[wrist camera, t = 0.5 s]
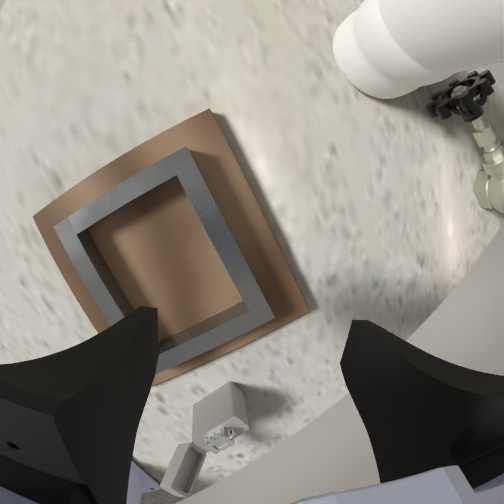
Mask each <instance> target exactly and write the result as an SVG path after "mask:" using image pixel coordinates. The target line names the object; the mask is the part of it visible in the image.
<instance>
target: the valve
mask: <svg viewBox="0 0 504 504" xmlns="http://www.w3.org/2000/svg"><path fill="white" fill-rule="evenodd" d="M495 82H496V81H495V79H494V77H493V76H492V74H491V72H490V71H489V70H486V71H483V72H482V73H480V74H478V72H477V71H473V72H471V73H469V74H468V75H467V78H466V79H464V80H462V81H459V80H457V79H456V80H453V81H452V82H450V83H449V84H448V86H449V88H448V89H447V90H445V91H443V92H442V91H439V92H437V93H435V94H434V95H433V96H432V99H433V101H432V102H430V103H428V104H427V105H426V107H425V108H426V109H427V111H428V112H429V114H430V115H431V117H432V118H434V117H437V116H438V114H439V116H440V117H441V119H442V120H445V119H448V118H449V117H451V116H452V113H451V111H452V112H453V113H455V114H457V115H461V116H462V118H463V119H464V121H465V122H472V124H473V126H474V128H473V130H472V134H473V136H474V138H475V140H476V142H477V143H478V145H479V147H484V149H483V155H482V157H481V159H480V162H481V165H482V167H483V169H484V170H483V171H478V172H477V174H476V179H475V184H474V188H473V192H474V194H475V196H476V198H477V201H478V203H479V205H480V207H482V208H488V209H495V208H496V209H497V210H498V211H499V212H501V213H503V214H504V146H500V144H499V143H495V141H496V136H495V134H494V132H493V130H492V128H491V126H490V124H489V123H488V122H483V120H482V118H481V116H482V114H483V112H484V111H483V109H482V107H481V106H483V105H484V104H485V102H486V100H487V96H489V95H490V94H492V93H493V92H494V89H493V88H492V86H491V85H493V84H494V83H495ZM468 87H470V88H468ZM479 93H480V97H479V98H478V99H477V98H476V96H477V95H478V94H479ZM451 97H452V98H451ZM450 98H451V99H450ZM437 113H438V114H437Z"/></svg>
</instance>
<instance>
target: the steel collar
mask: <svg viewBox="0 0 504 504" xmlns="http://www.w3.org/2000/svg"><path fill="white" fill-rule="evenodd" d="M177 177H178V179H179V180H180V182H181V184H182V186H183V188H184V190H185V192H186V194H187V196H188V198H189V200H190V202H191V204H192V206H193V208H194V210H195V211H196V213H197V215H198V217H199V219H200V221H201V223H202V225H203V227H204V229H205V230H206V232H207V234H208V236H209V238H210V240H211V242H212V244H213V246H214V247H215V249H216V251H217V253H218V255H219V257H220V259H221V260H222V262H223V264H224V266H225V268H226V270H227V272H228V273H229V275H230V277H231V279H232V281H233V283H234V284H235V286H236V288H237V290H238V292H239V294H240V295H241V297H242V299H243V301H242V302H240V303H238V304H236V305H234V306H232V307H230V308H228V309H226V310H224V311H222V312H220V313H218V314H216V315H214V316H212V317H210V318H208V319H206V320H204V321H202V322H200V323H198V324H195V325H193V326H191V327H189V328H187V329H185V330H183V331H181V332H179V333H177V334H175V335H173V336H171V337H168V338H166V339H164V340H162V341H160V342H158V343H159V358H158V363H157V368H156V373H155V374H157V373H160V372H162V371H164V370H167V369H169V368H171V367H173V366H176V365H178V364H180V363H182V362H185V361H187V360H189V359H191V358H193V357H196V356H198V355H200V354H202V353H204V352H206V351H208V350H211V349H213V348H215V347H217V346H219V345H221V344H223V343H225V342H227V341H230V340H232V339H234V338H236V337H238V336H240V335H242V334H244V333H246V332H248V331H250V330H252V329H254V328H256V327H258V326H260V325H262V324H264V323H266V322H268V321H270V320H272V319H274V318H275V316H274V314H273V312H272V310H271V308H270V306H269V304H268V302H267V300H266V298H265V296H264V295H263V293H262V291H261V289H260V287H259V285H258V283H257V281H256V279H255V277H254V275H253V273H252V272H251V270H250V268H249V266H248V264H247V262H246V260H245V258H244V256H243V254H242V252H241V250H240V248H239V246H238V245H237V243H236V241H235V239H234V237H233V235H232V233H231V231H230V229H229V227H228V225H227V223H226V221H225V219H224V217H223V215H222V214H221V212H220V210H219V208H218V206H217V204H216V202H215V200H214V198H213V196H212V194H211V192H210V190H209V188H208V186H207V184H206V182H205V180H204V178H203V176H202V175H201V173H200V171H199V169H198V167H197V165H196V163H195V161H194V159H193V157H192V155H191V153H190V151H189V149H188V148H187V146H186V147H184V148H182V149H180V150H178V151H176V152H174V153H172V154H171V155H169V156H167V157H165V158H163V159H161V160H160V161H158V162H156V163H154V164H152V165H151V166H149V167H147V168H145V169H144V170H142V171H140V172H138V173H137V174H135V175H133V176H132V177H130V178H128V179H126V180H125V181H123V182H121V183H120V184H118V185H117V186H115V187H113V188H112V189H110V190H108V191H107V192H105V193H104V194H102V195H100V196H99V197H97V198H96V199H94V200H93V201H91V202H90V203H88V204H87V205H85V206H84V207H82V208H80V209H79V210H78V211H76V212H75V213H73V214H72V215H70V216H69V217H67V218H66V219H64V220H63V221H61V222H60V223H59V224H57V225H56V226H54V229H55V231H56V233H57V235H58V237H59V239H60V240H61V242H62V244H63V246H64V248H65V250H66V252H67V254H68V256H69V258H70V259H71V261H72V263H73V265H74V267H75V268H76V270H77V272H78V274H79V275H80V277H81V279H82V281H83V282H84V284H85V286H86V287H87V289H88V291H89V293H90V294H91V296H92V297H93V299H94V301H95V302H96V304H97V306H98V307H99V309H100V310H101V312H102V313H103V315H104V317H105V318H106V320H107V321H108V323H109V324H110V326H112V325H114V324H115V323H117V322H118V321H120V320H121V319H123V318H124V317H126V316H127V315H128V314H130V313H131V312H133V311H134V309H133V307H132V305H131V304H130V302H129V301H128V299H127V297H126V296H125V294H124V292H123V291H122V289H121V288H120V286H119V284H118V282H117V281H116V279H115V277H114V276H113V274H112V272H111V271H110V269H109V267H108V265H107V264H106V262H105V260H104V258H103V256H102V255H101V253H100V251H99V249H98V247H97V245H96V244H95V242H94V240H93V238H92V236H91V234H90V232H89V229H90V228H92V227H93V226H95V225H96V224H98V223H100V222H101V221H103V220H104V219H106V218H108V217H109V216H111V215H113V214H114V213H116V212H118V211H119V210H121V209H123V208H124V207H126V206H128V205H129V204H131V203H133V202H134V201H136V200H138V199H140V198H141V197H143V196H145V195H147V194H148V193H150V192H152V191H154V190H155V189H157V188H159V187H161V186H163V185H164V184H166V183H168V182H170V181H172V180H173V179H175V178H177Z"/></svg>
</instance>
